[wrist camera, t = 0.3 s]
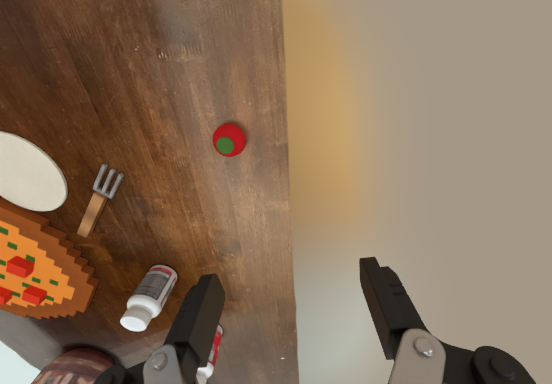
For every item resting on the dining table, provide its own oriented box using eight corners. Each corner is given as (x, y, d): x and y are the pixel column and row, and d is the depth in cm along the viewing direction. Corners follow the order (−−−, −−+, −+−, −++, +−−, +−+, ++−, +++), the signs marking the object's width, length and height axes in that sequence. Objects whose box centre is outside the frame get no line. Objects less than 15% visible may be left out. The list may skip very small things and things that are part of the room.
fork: (95, 235, 38) (90, 239, 37) (78, 226, 38) (72, 231, 37) (124, 174, 32) (119, 178, 31) (105, 163, 32) (98, 166, 31)
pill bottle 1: (144, 267, 42) (107, 318, 33) (166, 260, 41) (134, 310, 32) (161, 285, 44) (131, 336, 36) (183, 279, 43) (157, 330, 34)
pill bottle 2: (213, 338, 53) (196, 398, 43) (191, 327, 51) (169, 387, 41) (228, 328, 51) (214, 389, 41) (206, 316, 49) (186, 377, 39)
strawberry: (212, 138, 29) (201, 148, 25) (228, 114, 28) (218, 120, 24) (237, 156, 30) (230, 168, 27) (253, 134, 29) (248, 143, 25)
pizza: (112, 247, 40) (100, 260, 37) (80, 327, 53) (69, 341, 50) (-106, 149, 32) (-142, 157, 29) (-80, 272, 46) (-103, 284, 43)
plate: (-30, 179, 34) (-33, 180, 34) (-25, 110, 29) (-28, 110, 28) (58, 223, 37) (56, 224, 37) (77, 168, 32) (75, 169, 32)
